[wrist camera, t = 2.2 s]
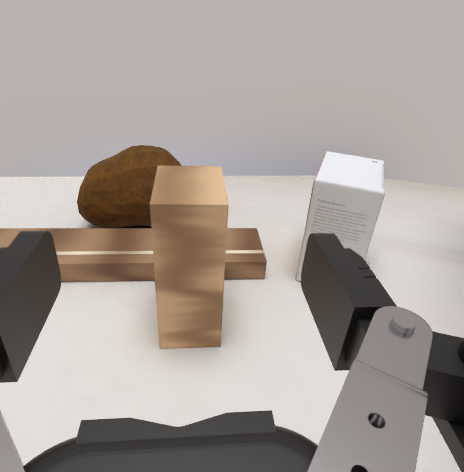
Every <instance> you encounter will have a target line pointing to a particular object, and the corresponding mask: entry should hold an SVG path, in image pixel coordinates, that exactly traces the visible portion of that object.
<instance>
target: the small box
mask: <svg viewBox="0 0 464 472" xmlns="http://www.w3.org/2000/svg"><path fill="white" fill-rule="evenodd" d="M384 163H385V162H384V161H381V160H376V159H370V158H364V157H358V156H352V155H346V154H340V153H335V152H328V151H327V152H326V153H325V155H324V158H323V160H322V163H321V165H320V168H319V170H318V173H317V175H316V178H315V180H314V183H313V188H312V194H311V199H310V205H309V210H308V215H307V221H306V228H305V233H304V238H303V243H302V248H301V254H300V260H299V265H298V270H297V275H296V280H297V281H301V271H302V266H303V261H304V256H305V251H306V246H307V241H308V237H309V235H310V234H311V233H334V234H335V235H336V236H337V238H338V239H339V241H340V242H341V244H342V245H343V247H344V248H350V249H352V250H353V251H354V252H356V253H357V254H359V255H360V256H361V257H363V259H365V256H366V253H367V250H368V246H369V243H370V240H371V237H372V234H373V231H374V227H375V224H376V221H377V218H378V215H379V212H380V208H381V205H382V202H383V199H384V196H385V192H384Z"/></svg>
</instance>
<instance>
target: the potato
mask: <svg viewBox="0 0 464 472" xmlns="http://www.w3.org/2000/svg"><path fill="white" fill-rule="evenodd" d="M158 165H159V166H181V164H180V163H179V162H178V161H177V160H176V159H175V158H174V157H173V156H172V155H171V154H170V153H169V152H168V151H167V150H165V149H163V148H160V147H154V146H143V145H140V146H132V147H130V148H127V149H125V150H123V151H121V152H120V153H118V154H117V155H114V156H113V157H110V158H107V159H105V160H102V161H100V162H99V163H97V164H95V165H93V166H92V167H91V168H90V169H89V170H88V172H87V174H86V176H85V178H84V180H83V182H82V184H81V187H80V190H79V195H78V200H77V204H78V209H79V213H80V214H81V215H82V217H83V218H84V219H85V220H87V221H88V222H90V223H92V224H93V225H96V226H100V227H105V228H121V227H130V226H151V214H150V201H151V196H152V191H153V186H154V181H155V176H156V172H157V167H158Z"/></svg>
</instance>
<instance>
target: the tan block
mask: <svg viewBox="0 0 464 472" xmlns="http://www.w3.org/2000/svg"><path fill="white" fill-rule="evenodd" d="M150 214H151V229H152V243H153V257H154V272H155V286H156V301H157V315H158V330H159V344H160V349H165V348H193V347H220V343H221V325H222V308H223V290H224V273H225V255H226V238H227V220H228V200H227V195H226V190H225V184H224V179H223V174H222V168H221V167H213V166H211V167H210V166H159V165H158V167H157V172H156V176H155V181H154V186H153V191H152V196H151V201H150Z"/></svg>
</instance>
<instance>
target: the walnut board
mask: <svg viewBox="0 0 464 472" xmlns="http://www.w3.org/2000/svg"><path fill="white" fill-rule="evenodd" d="M21 231H49V232H50V233H51V234H52V237H53V240H54V245H55V250H56V254H57V259H58V263H59V268H60V272H61V282H86V281H149V280H155V272H154V257H153V243H152V229H151V228H24V229H0V248H1V247H8V246H9V245H10V244H11V243H12V241H13V240H14V239H15V237H16V236H17V235H18V234H19V232H21ZM265 270H266V258H265V255H264V250H263V248H262V245H261V241H260V238H259V234H258V231H257V228H227V238H226V255H225V273H224V279H264V277H265Z"/></svg>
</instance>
